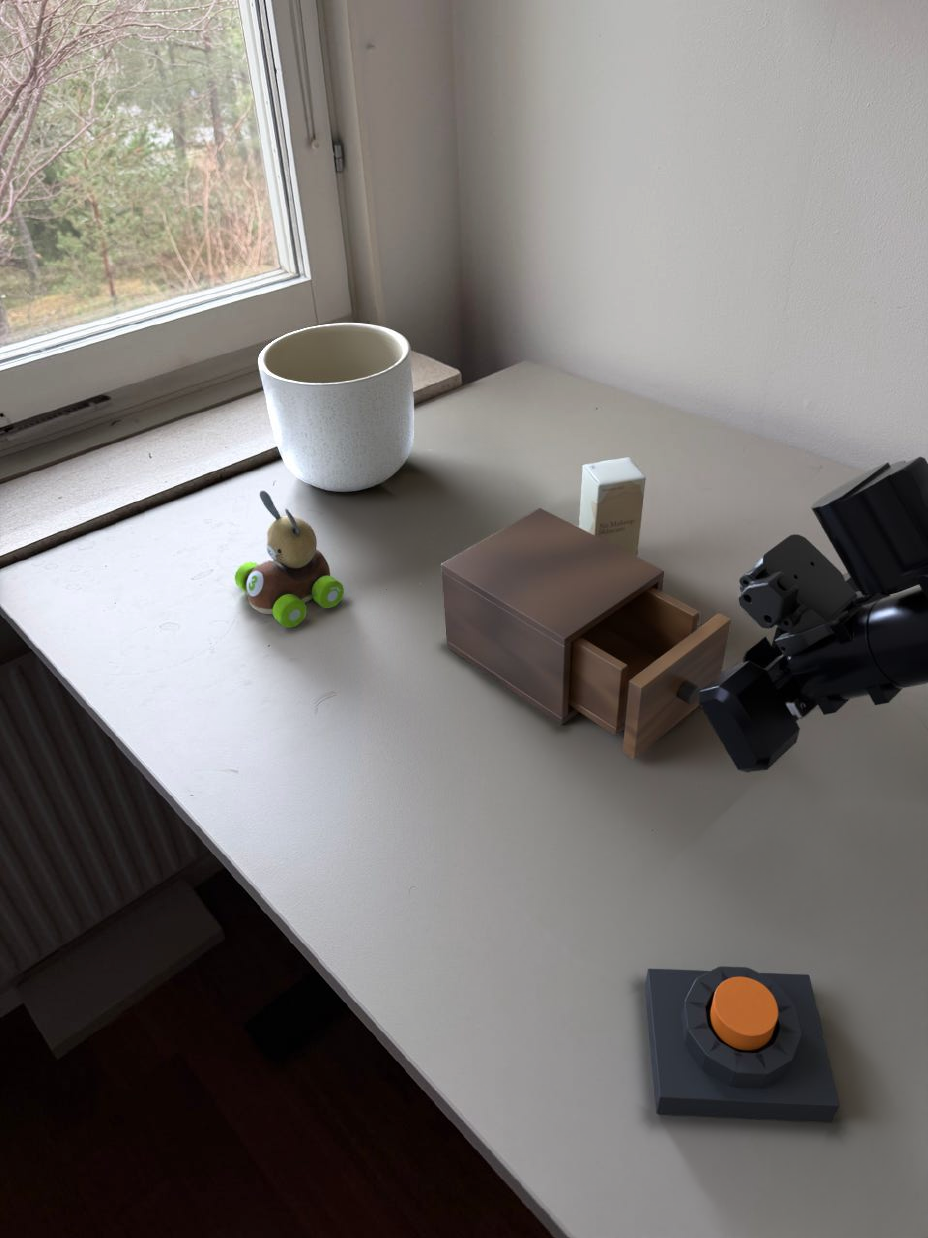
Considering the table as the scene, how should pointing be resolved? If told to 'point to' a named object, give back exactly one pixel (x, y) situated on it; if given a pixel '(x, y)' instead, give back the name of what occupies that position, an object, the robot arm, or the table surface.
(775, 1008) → the button
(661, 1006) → the switch block
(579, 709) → the brown wooden drawer
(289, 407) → the planter
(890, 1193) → the table surface
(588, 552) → the nightstand
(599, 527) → the box
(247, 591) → the toy car
